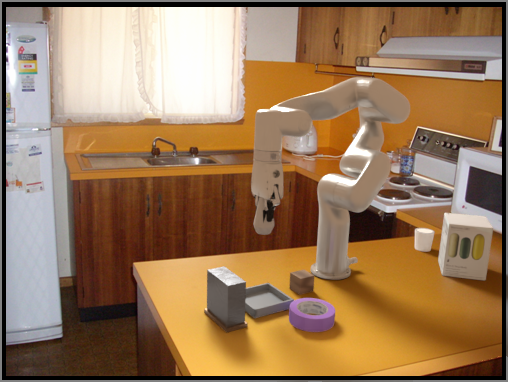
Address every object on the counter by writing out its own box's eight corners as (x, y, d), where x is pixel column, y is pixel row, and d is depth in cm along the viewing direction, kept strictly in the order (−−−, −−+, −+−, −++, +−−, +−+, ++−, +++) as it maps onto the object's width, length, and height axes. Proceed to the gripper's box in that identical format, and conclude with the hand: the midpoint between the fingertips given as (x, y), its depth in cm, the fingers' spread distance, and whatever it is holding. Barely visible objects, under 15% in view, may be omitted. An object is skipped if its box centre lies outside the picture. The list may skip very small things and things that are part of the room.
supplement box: (441, 276, 165) (448, 223, 160) (437, 261, 177) (443, 211, 173) (486, 281, 162) (494, 227, 157) (479, 265, 174) (486, 215, 170)
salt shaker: (262, 227, 148) (264, 183, 145) (278, 232, 144) (280, 187, 141) (248, 232, 144) (250, 186, 141) (264, 237, 140) (267, 190, 137)
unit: (224, 307, 139) (225, 265, 137) (247, 326, 130) (249, 282, 127) (204, 312, 136) (204, 269, 133) (226, 332, 126) (227, 287, 124)
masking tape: (330, 311, 140) (331, 298, 139) (337, 333, 128) (338, 319, 127) (287, 310, 139) (288, 296, 139) (290, 332, 128) (291, 318, 127)
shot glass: (434, 248, 189) (436, 229, 188) (429, 253, 184) (432, 234, 182) (415, 244, 193) (417, 226, 191) (410, 249, 187) (412, 231, 186)
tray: (268, 290, 150) (268, 282, 150) (293, 307, 140) (293, 299, 140) (230, 299, 144) (231, 291, 143) (254, 318, 134) (254, 309, 133)
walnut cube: (303, 285, 155) (303, 269, 154) (313, 291, 151) (314, 275, 150) (289, 288, 152) (290, 272, 151) (299, 295, 148) (300, 278, 147)
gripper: (296, 160, 134) (292, 228, 138) (263, 150, 148) (260, 212, 152) (271, 162, 130) (267, 232, 135) (240, 151, 144) (238, 215, 148)
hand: (264, 221), depth 143 cm, fingers closed on salt shaker, 3 cm apart
